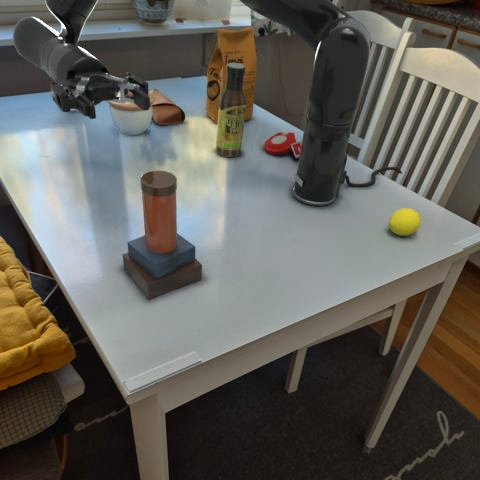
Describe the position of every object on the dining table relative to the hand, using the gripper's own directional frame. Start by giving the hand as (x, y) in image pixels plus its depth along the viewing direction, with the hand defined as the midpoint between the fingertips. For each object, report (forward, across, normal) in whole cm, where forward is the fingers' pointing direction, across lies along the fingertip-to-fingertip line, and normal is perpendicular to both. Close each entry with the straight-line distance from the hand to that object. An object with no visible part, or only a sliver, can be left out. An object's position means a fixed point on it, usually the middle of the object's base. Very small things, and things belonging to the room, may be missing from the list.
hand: (120, 107), depth 69 cm
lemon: (+23, +48, +24) cm, 58 cm away
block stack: (+11, 0, +24) cm, 26 cm away
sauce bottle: (-23, +37, +24) cm, 50 cm away
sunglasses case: (-53, +34, +24) cm, 67 cm away
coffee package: (-42, +50, +24) cm, 70 cm away
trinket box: (-45, +22, +24) cm, 55 cm away
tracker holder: (-17, +50, +24) cm, 58 cm away
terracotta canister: (+11, 0, +18) cm, 21 cm away
